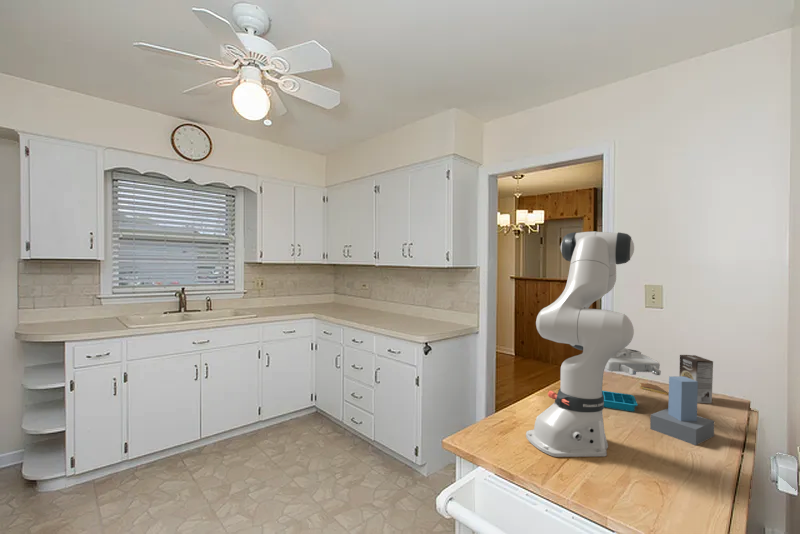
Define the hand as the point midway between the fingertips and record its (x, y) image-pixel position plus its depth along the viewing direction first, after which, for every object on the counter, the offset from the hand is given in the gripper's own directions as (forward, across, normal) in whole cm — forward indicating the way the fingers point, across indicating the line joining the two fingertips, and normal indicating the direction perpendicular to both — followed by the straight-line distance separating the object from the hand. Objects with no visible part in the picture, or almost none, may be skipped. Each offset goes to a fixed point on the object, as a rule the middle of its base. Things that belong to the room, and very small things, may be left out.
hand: (646, 372), depth 126 cm
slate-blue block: (+13, +2, +9) cm, 16 cm away
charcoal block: (+14, +2, +14) cm, 20 cm away
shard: (-22, +27, +17) cm, 39 cm away
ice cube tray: (-12, -4, +17) cm, 21 cm away
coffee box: (-11, +34, +15) cm, 39 cm away
